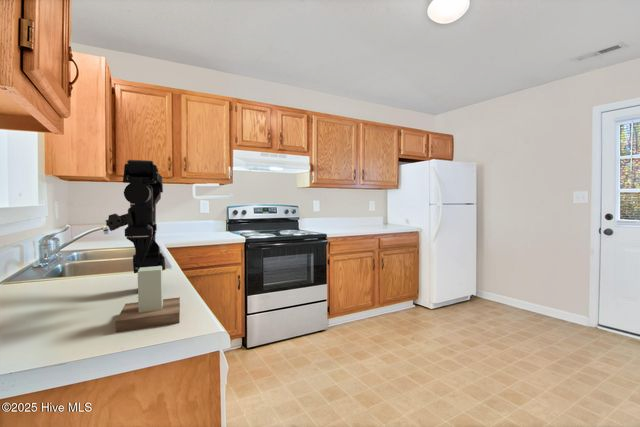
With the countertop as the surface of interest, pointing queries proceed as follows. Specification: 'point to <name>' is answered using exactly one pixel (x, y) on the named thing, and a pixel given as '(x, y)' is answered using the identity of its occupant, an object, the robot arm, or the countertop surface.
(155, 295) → the sage block
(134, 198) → the robot arm
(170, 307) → the walnut stand
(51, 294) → the countertop surface
